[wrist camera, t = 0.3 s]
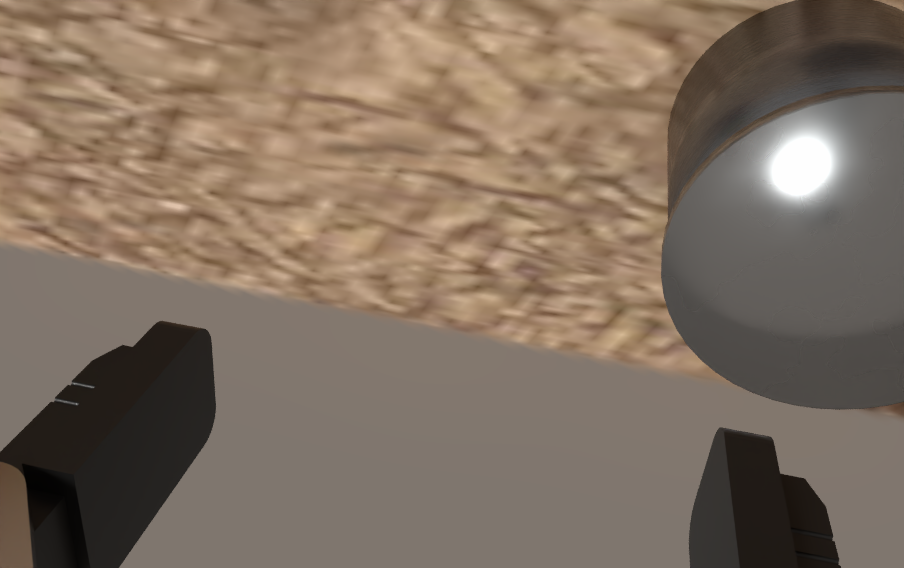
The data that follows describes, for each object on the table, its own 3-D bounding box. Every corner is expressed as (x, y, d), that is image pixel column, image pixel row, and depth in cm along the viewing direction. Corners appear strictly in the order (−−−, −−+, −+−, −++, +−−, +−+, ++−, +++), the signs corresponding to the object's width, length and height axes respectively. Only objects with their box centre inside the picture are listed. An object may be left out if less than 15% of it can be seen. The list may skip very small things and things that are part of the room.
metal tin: (820, -78, 27) (876, 8, 20) (1039, 118, 29) (1162, 260, 22) (604, 149, 33) (587, 279, 26) (800, 299, 35) (834, 458, 28)
